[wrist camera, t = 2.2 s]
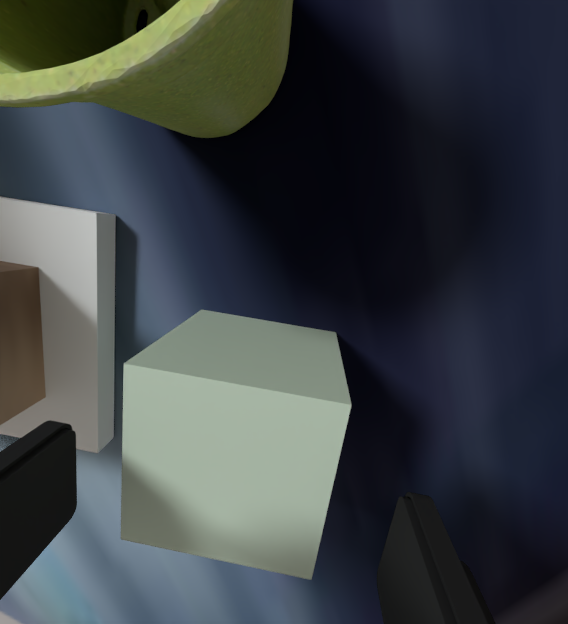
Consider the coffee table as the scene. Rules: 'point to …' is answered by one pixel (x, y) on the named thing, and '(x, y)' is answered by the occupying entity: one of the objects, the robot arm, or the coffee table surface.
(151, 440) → the sage block
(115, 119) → the coffee table surface
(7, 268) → the walnut cube
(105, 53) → the plant pot
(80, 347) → the board
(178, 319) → the coffee table surface
